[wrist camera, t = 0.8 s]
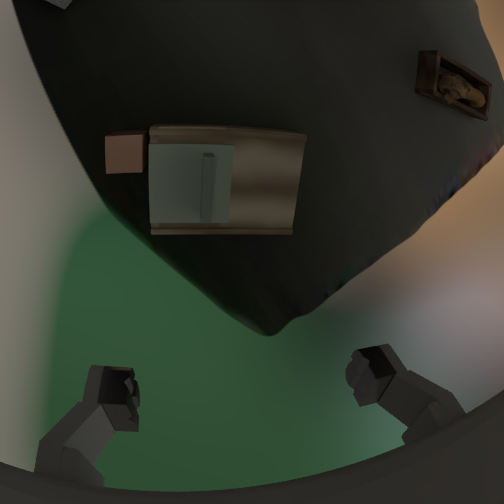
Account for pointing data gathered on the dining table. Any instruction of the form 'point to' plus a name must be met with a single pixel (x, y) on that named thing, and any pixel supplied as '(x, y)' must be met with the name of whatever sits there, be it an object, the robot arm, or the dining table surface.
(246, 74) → the dining table surface
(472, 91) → the lion figurine
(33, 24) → the dining table surface
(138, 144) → the cube
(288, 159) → the wooden box
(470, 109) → the lion stand
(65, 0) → the supplement box
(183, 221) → the cover
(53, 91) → the dining table surface
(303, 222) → the dining table surface
